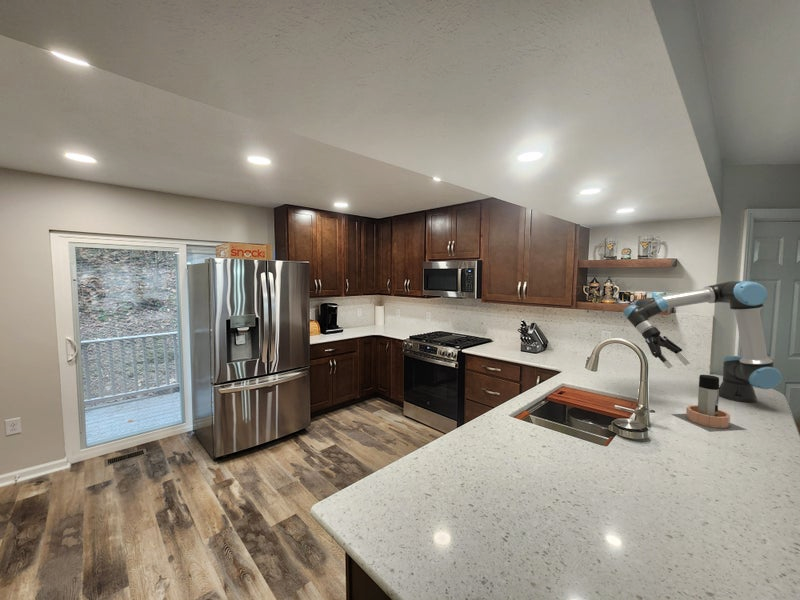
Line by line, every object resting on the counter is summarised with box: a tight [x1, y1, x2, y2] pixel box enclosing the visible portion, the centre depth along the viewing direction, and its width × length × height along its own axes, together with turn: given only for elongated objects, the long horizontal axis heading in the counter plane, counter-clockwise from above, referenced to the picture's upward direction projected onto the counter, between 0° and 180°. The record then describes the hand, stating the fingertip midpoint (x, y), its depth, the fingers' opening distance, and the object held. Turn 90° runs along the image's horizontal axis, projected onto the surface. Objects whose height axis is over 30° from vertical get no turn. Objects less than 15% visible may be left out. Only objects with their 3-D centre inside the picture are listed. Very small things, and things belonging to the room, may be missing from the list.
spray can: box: [697, 374, 720, 417], centre depth 149 cm, size 7×7×20 cm
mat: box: [670, 413, 748, 432], centre depth 149 cm, size 18×18×1 cm
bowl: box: [685, 404, 731, 429], centre depth 149 cm, size 14×14×5 cm
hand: (679, 365), depth 161 cm, fingers open, 13 cm apart
